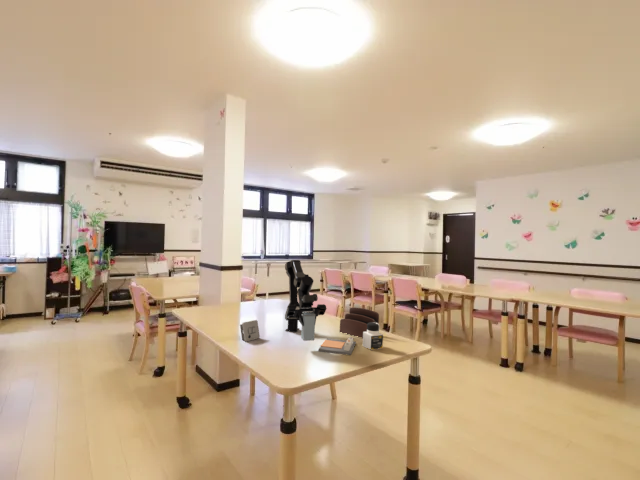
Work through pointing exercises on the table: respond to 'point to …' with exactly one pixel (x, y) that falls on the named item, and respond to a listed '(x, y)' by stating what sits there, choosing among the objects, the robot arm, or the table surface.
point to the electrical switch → (250, 330)
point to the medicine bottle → (372, 336)
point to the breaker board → (338, 346)
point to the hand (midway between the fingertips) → (308, 325)
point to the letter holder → (358, 321)
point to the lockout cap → (308, 326)
